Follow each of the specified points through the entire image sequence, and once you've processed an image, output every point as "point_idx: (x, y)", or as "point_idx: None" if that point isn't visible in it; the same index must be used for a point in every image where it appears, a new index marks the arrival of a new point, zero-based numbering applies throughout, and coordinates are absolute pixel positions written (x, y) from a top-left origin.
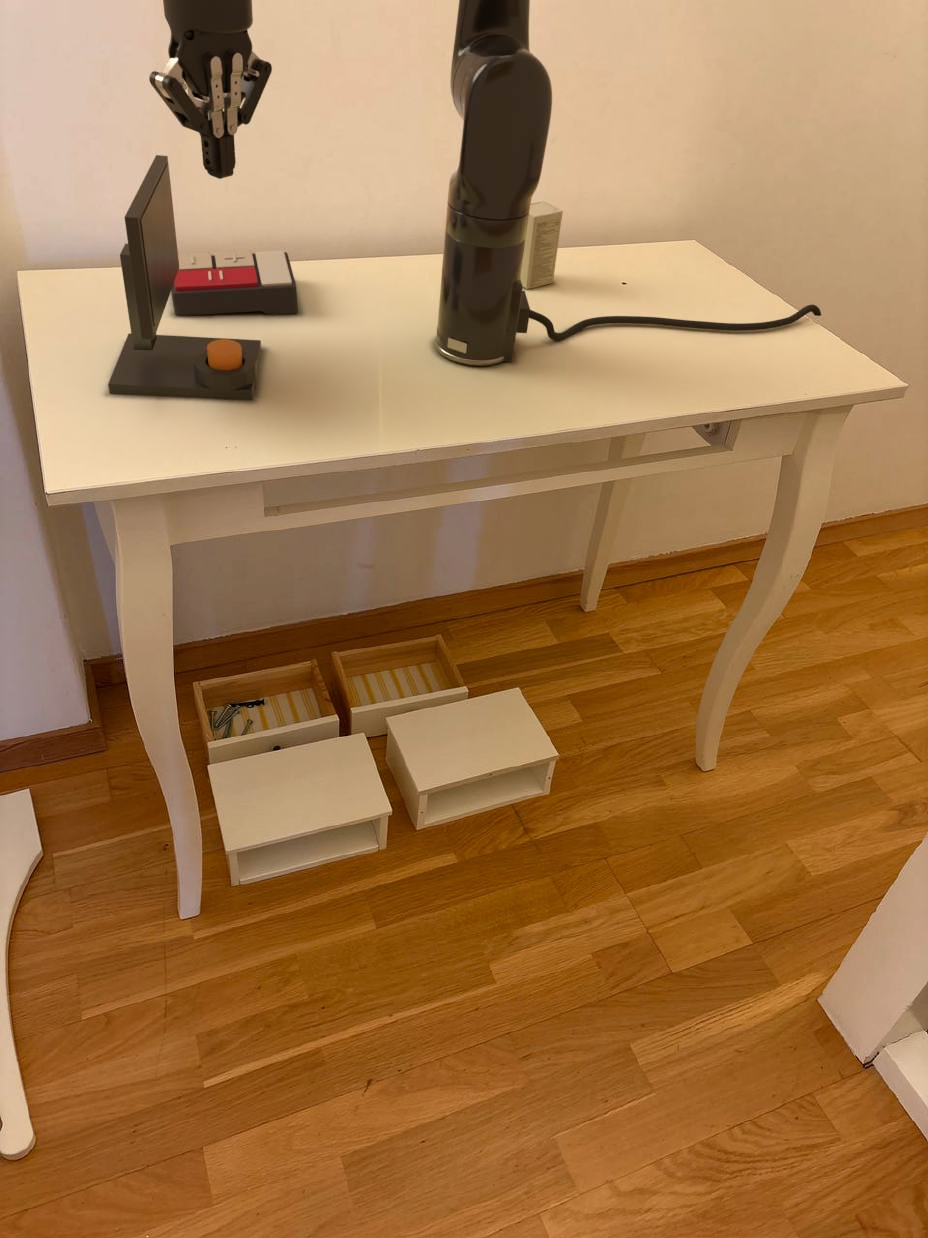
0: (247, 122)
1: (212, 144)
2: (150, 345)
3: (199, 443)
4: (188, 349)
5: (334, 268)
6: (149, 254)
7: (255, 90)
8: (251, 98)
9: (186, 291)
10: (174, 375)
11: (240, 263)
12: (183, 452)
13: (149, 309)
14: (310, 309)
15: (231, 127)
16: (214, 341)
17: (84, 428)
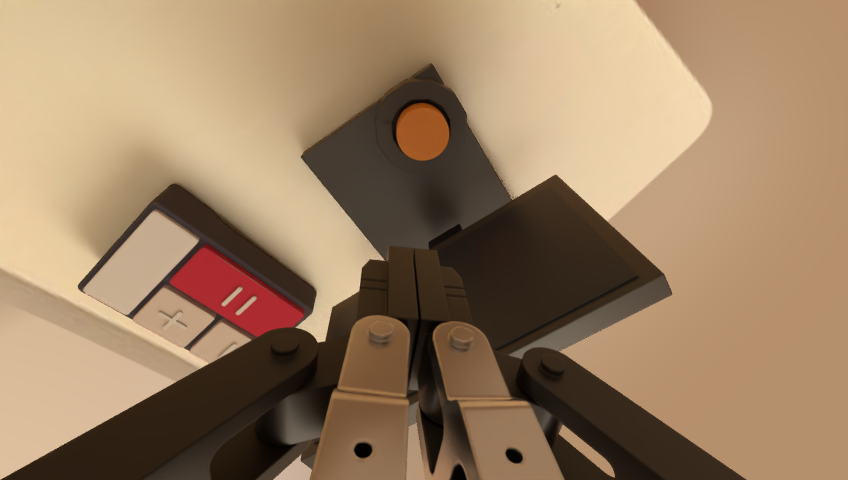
0: (285, 331)
1: (469, 322)
2: (461, 227)
3: (566, 47)
4: (393, 212)
5: (2, 239)
6: (562, 249)
7: (148, 449)
8: (211, 413)
9: (296, 302)
10: (461, 178)
11: (178, 303)
12: (594, 49)
13: (575, 192)
14: (144, 178)
15: (393, 332)
16: (419, 157)
17: (598, 184)
